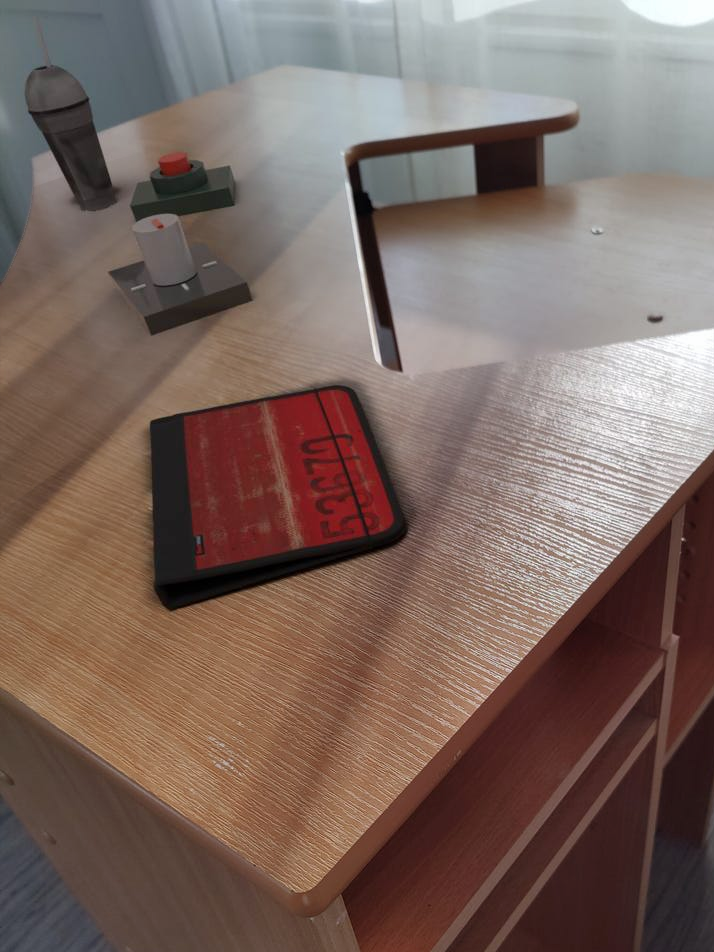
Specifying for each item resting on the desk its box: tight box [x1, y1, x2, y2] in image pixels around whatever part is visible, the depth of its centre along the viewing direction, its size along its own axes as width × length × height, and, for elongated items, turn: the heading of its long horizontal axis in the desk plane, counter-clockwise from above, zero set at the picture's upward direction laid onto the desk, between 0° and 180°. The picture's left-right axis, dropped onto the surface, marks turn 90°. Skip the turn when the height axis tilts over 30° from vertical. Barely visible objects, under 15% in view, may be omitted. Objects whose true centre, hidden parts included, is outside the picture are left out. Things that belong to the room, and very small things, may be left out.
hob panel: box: [107, 241, 254, 337], centre depth 85 cm, size 14×10×3 cm
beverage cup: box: [24, 17, 117, 212], centre depth 106 cm, size 7×7×20 cm
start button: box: [157, 151, 192, 175], centre depth 106 cm, size 4×4×2 cm
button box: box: [129, 159, 236, 223], centre depth 108 cm, size 12×9×4 cm
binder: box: [149, 384, 408, 610], centre depth 61 cm, size 16×2×21 cm
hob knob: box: [131, 214, 197, 286], centre depth 82 cm, size 4×4×5 cm
